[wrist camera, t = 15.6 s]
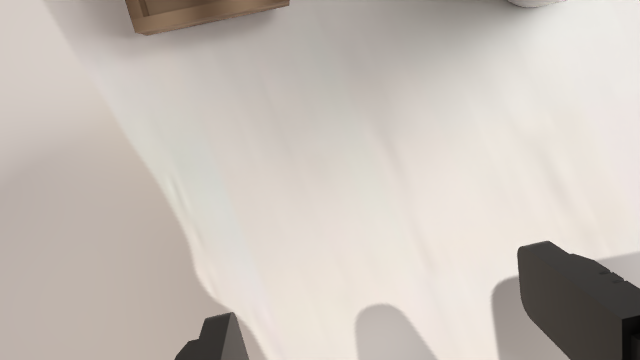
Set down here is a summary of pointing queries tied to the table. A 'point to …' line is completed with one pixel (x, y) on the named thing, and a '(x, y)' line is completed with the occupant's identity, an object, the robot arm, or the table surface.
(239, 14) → the wooden toy cart
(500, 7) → the table surface
